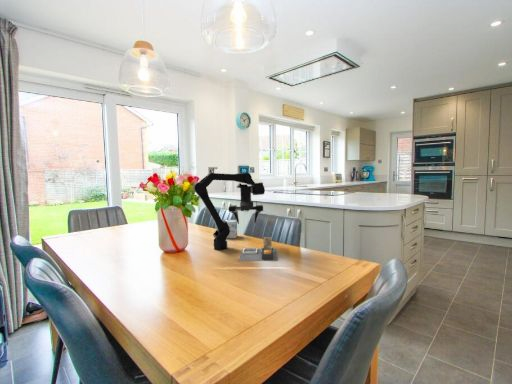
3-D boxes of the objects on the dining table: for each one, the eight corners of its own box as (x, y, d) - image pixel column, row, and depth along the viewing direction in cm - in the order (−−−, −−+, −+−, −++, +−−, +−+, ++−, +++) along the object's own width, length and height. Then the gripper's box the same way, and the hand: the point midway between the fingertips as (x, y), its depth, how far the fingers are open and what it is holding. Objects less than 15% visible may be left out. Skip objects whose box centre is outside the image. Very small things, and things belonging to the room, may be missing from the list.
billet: (263, 252, 131) (263, 239, 130) (263, 250, 135) (263, 237, 134) (271, 252, 130) (271, 239, 130) (271, 250, 134) (271, 237, 134)
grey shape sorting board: (238, 263, 120) (238, 255, 120) (242, 251, 138) (242, 244, 138) (277, 262, 119) (277, 255, 119) (276, 250, 137) (276, 244, 137)
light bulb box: (237, 235, 171) (237, 219, 170) (235, 238, 164) (235, 221, 164) (221, 235, 172) (220, 219, 171) (219, 238, 166) (218, 221, 165)
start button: (263, 258, 122) (263, 251, 122) (264, 255, 125) (263, 249, 125) (271, 258, 122) (271, 251, 121) (271, 255, 125) (271, 249, 125)
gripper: (226, 197, 136) (227, 227, 137) (262, 196, 135) (263, 226, 136) (229, 195, 147) (230, 222, 148) (262, 194, 146) (263, 222, 147)
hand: (246, 223), depth 145 cm, fingers open, 9 cm apart
